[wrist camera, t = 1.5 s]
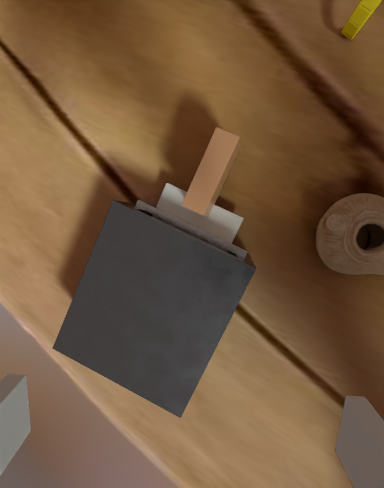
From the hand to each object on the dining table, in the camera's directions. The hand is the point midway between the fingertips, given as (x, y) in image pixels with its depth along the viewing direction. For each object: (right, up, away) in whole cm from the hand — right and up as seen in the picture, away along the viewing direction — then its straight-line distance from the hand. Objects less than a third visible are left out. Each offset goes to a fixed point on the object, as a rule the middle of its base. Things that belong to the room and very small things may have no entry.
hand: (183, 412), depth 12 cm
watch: (+19, +32, +20) cm, 42 cm away
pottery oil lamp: (+21, +7, +22) cm, 31 cm away
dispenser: (-3, +1, +26) cm, 26 cm away
